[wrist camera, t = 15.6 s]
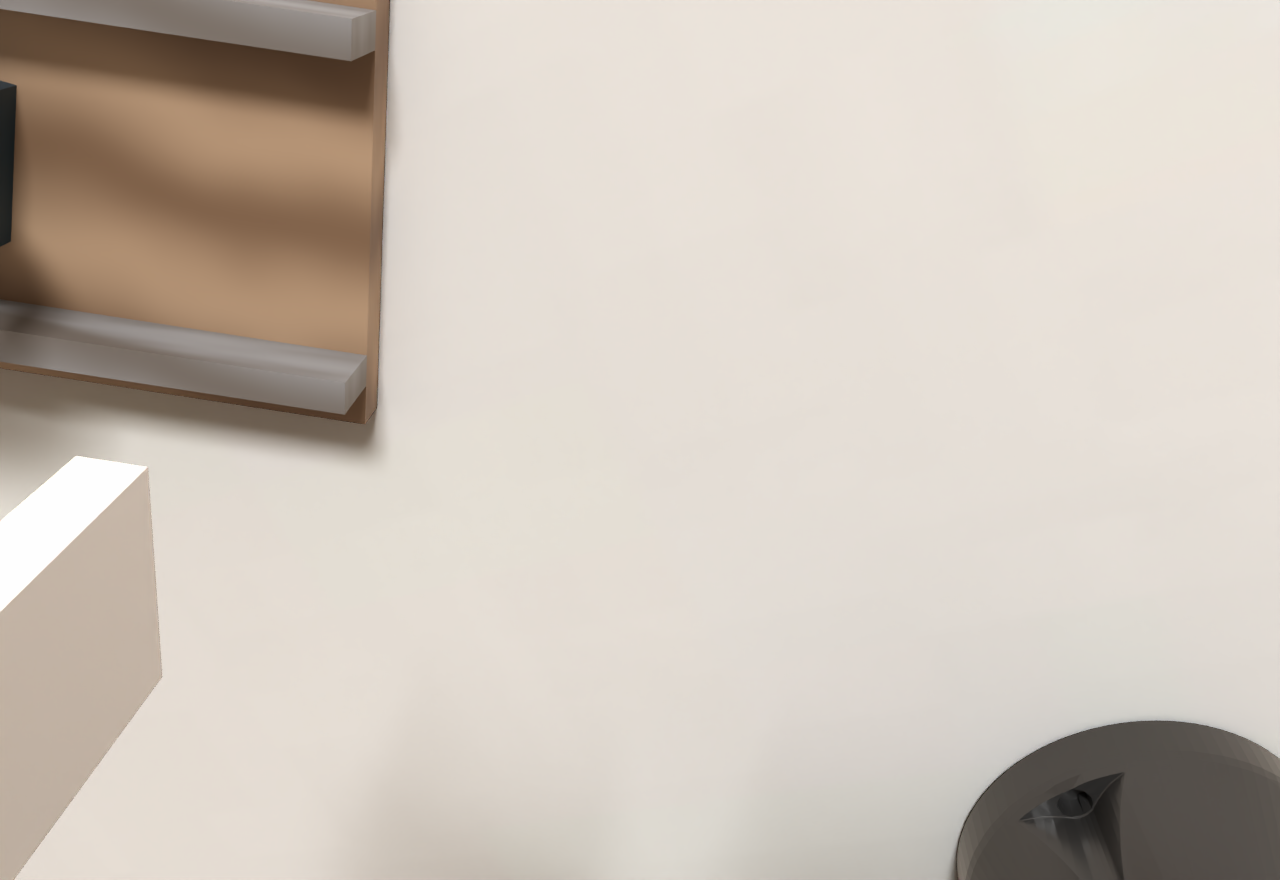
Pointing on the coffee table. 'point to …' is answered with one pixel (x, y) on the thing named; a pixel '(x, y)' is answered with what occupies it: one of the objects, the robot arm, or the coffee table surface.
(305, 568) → the coffee table surface
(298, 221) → the wooden tray
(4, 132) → the watch
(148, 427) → the coffee table surface
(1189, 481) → the coffee table surface
